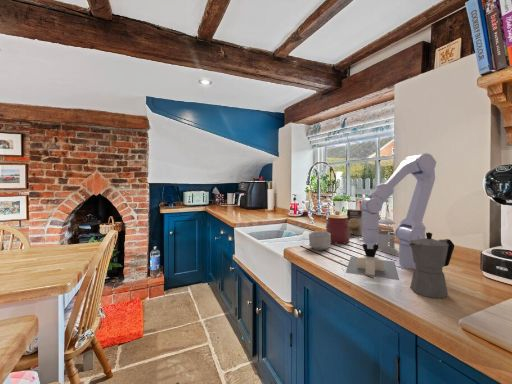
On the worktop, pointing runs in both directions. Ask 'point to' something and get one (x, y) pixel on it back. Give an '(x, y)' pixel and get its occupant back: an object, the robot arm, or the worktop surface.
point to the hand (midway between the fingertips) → (370, 263)
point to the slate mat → (388, 272)
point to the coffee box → (355, 221)
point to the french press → (386, 236)
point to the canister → (338, 227)
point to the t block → (370, 264)
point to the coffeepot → (430, 266)
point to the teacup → (319, 240)
